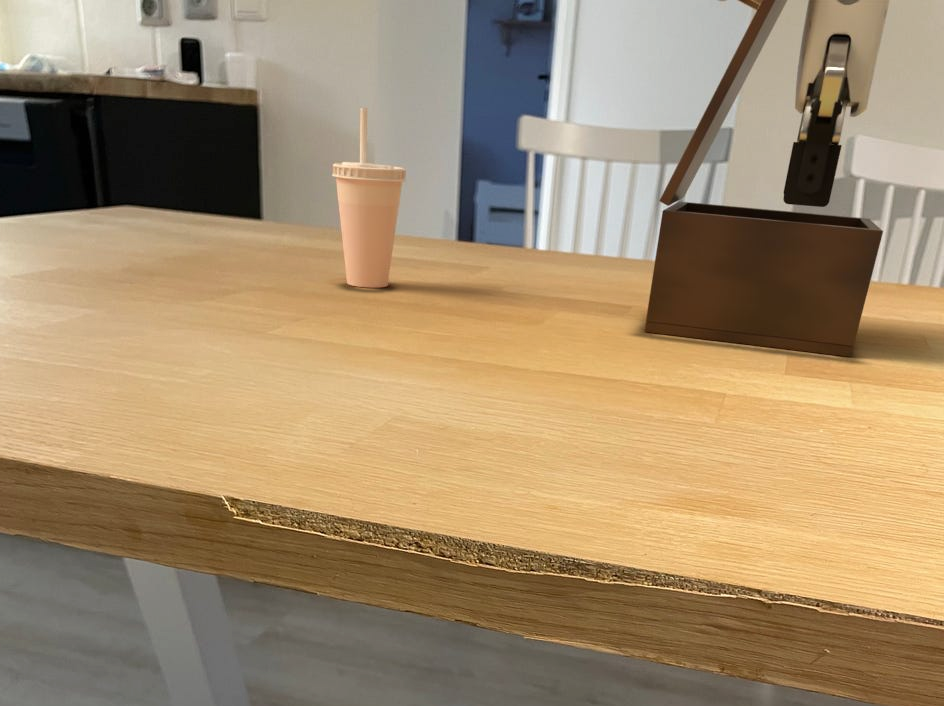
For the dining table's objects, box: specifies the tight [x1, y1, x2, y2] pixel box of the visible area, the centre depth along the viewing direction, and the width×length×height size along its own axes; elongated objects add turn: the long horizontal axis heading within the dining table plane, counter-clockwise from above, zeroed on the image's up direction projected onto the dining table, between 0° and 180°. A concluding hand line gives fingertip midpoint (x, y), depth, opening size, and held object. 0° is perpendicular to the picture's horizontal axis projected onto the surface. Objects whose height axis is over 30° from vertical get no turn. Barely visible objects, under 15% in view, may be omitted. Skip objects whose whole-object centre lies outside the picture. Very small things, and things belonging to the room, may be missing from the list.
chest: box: [644, 200, 884, 358], centre depth 76 cm, size 16×13×9 cm
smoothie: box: [331, 107, 407, 289], centre depth 83 cm, size 6×6×14 cm
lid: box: [659, 0, 788, 207], centre depth 71 cm, size 16×13×5 cm
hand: (803, 201), depth 73 cm, fingers open, 9 cm apart
